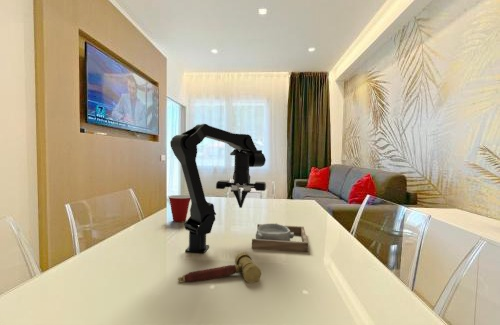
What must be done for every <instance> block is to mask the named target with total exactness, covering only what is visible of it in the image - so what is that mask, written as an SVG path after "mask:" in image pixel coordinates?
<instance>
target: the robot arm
mask: <svg viewBox="0 0 500 325" xmlns="http://www.w3.org/2000/svg"><path fill="white" fill-rule="evenodd" d="M205 138H206V139H211V140H214V141H218V142H222V143H224V144H227V145H228V146H229V147H231V148H232V149H233V150H232V151H231V152H230V154H229V155H230V156H234V170H233V171H234V172H233V175H232V180H233V182H231V181H230V180H225V179H219V180H218V181H216V184H215V189H217V190H225V189H226V188H230V192H232V193H233V196H234V197H235V199H236V203H237V205H238V207H239V209H241V208H243V206H244V203H245V199H246V196H247V195H248V193H251V191H252V189H255V191H259V192H265V191H266V189H267V183H266V182H265V181H255V182H254V183H251V174H250V168H260V167H263V166H265V164H266V156H265V155H264V153H263V150H262V149H257V146H256V145H255V143H254V141H253V138H252V136H251V135H250V134H249V133H248V134H246V133H245V134H244V133H235V132H229V131H227V130H223V129H221V128H218V127H214V126H211V125H209V124H206V123H199V124H197V125H194V126H193V127H192V128H190V129H189V130H187V131H185V132H183V133H181V134H175V135H173V137H172V138H171V140H170V142H169V143H170V148H171V150H172V152H173V155H174V156H175V158H176V159H177V160H178V161H179V163H180V165H181V168H182V169H181V170H182V172H183V176H184V180H185V182H186V187H187V191H188V194H189V195H188V196H190V202H191V204H190V209H189V212H190V213H189V214H190V215H189V216H190V217H189V218H187V219H186V221H185V223H183V225H184V230H186V231H188V246H187V247H186V249H185V250H184V251H185V253H197V254H204V253H206V251H207V250H208V249H209V247H210V245H209V244H207V235H208V234H211V233H212V229H213V226H214V223H215V221H216V215H217V213H216V211H215V205H214V204H213V203H211V202H208V201H207V199H206V196H205V191H204V188H203V184H202V180H201V176H200V172H199V169H198V164H197V161H196V160H197V155H198V145H199V144H201V143H202V142H203V141H204V140H205ZM241 189H242V190H241Z"/></svg>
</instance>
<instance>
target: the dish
mask: <svg viewBox="0 0 500 325" xmlns="http://www.w3.org/2000/svg"><path fill="white" fill-rule="evenodd" d="M261 224H262V225H259V227H258V230H257V229H256V232H255V239H266V240H281V241H291V239H293V238H294V236H295V234H294V233H293V232H292V233H291V232H290V230H289V229H288V228H287V227H286V226H287V225H284V224H279V223H274V222H273V223H261Z"/></svg>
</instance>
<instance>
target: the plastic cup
mask: <svg viewBox="0 0 500 325" xmlns="http://www.w3.org/2000/svg"><path fill="white" fill-rule="evenodd" d="M168 200H169V204H170V210H171V217H172V220H173V222H174V221H175V222H176V223H183V222H182V221H184V222H186V221H187V216H188V212H189V211H188V210H189V207H190V202H191V199H190V195H181V194H178V195H176V194H175V195H174V194H172V195H168ZM185 220H186V221H185ZM175 222H174V223H175Z"/></svg>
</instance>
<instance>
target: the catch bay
mask: <svg viewBox="0 0 500 325" xmlns="http://www.w3.org/2000/svg"><path fill="white" fill-rule="evenodd" d="M262 224H263V223H257V227H256V228H257V229H256V231H257V230H258V227H259V225H262ZM285 226H286V227H287V228H288V229H289V230H290V232H291V233H292V232H293V233H294V235H300V237H301V241H296V240H295V241H294V240H290V241H281V240H266V239H256V238H251V248H252V249H257V250H259V249H260V250H274V251H288V252H300V253H301V252H302V253H308V249H309V243H308V238H307V234H306V230H305V227H304V226H297V225H296V226H295V225H285Z"/></svg>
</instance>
